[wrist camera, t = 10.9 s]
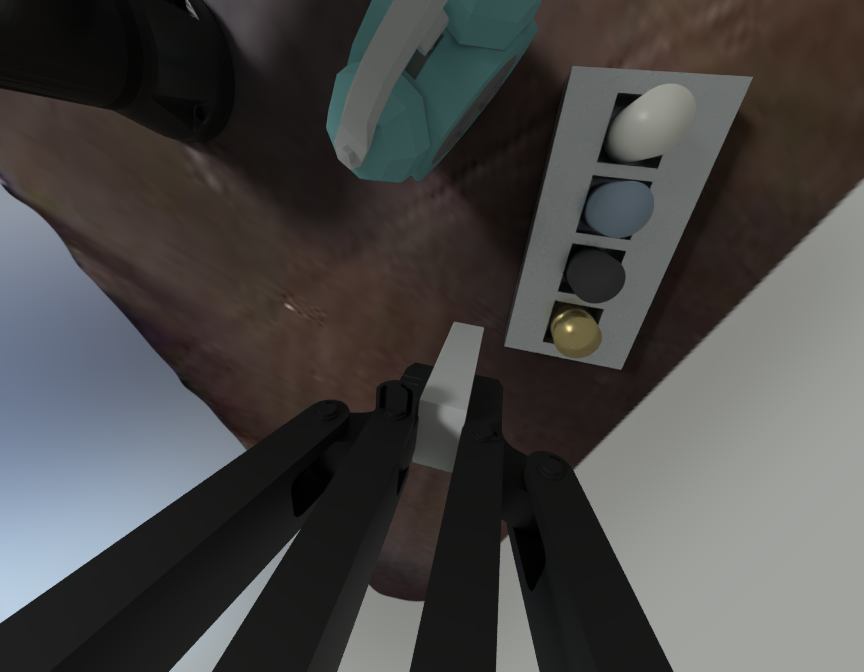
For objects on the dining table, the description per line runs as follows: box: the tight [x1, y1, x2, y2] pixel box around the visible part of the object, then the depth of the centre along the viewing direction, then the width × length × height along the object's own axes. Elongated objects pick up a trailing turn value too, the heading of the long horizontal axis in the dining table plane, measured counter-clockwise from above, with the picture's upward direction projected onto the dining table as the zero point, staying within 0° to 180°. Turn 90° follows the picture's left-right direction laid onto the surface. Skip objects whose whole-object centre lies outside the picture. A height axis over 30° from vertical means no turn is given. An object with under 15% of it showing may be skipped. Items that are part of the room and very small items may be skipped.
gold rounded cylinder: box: [549, 301, 602, 358], centre depth 34 cm, size 4×4×6 cm
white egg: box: [604, 84, 696, 163], centre depth 25 cm, size 4×4×6 cm
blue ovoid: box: [581, 181, 654, 238], centre depth 28 cm, size 4×4×6 cm
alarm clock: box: [326, 0, 542, 183], centre depth 23 cm, size 17×10×20 cm, turn 137°
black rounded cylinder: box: [563, 246, 626, 304], centre depth 31 cm, size 4×4×6 cm
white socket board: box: [504, 66, 753, 370], centre depth 32 cm, size 13×26×4 cm, turn 173°
